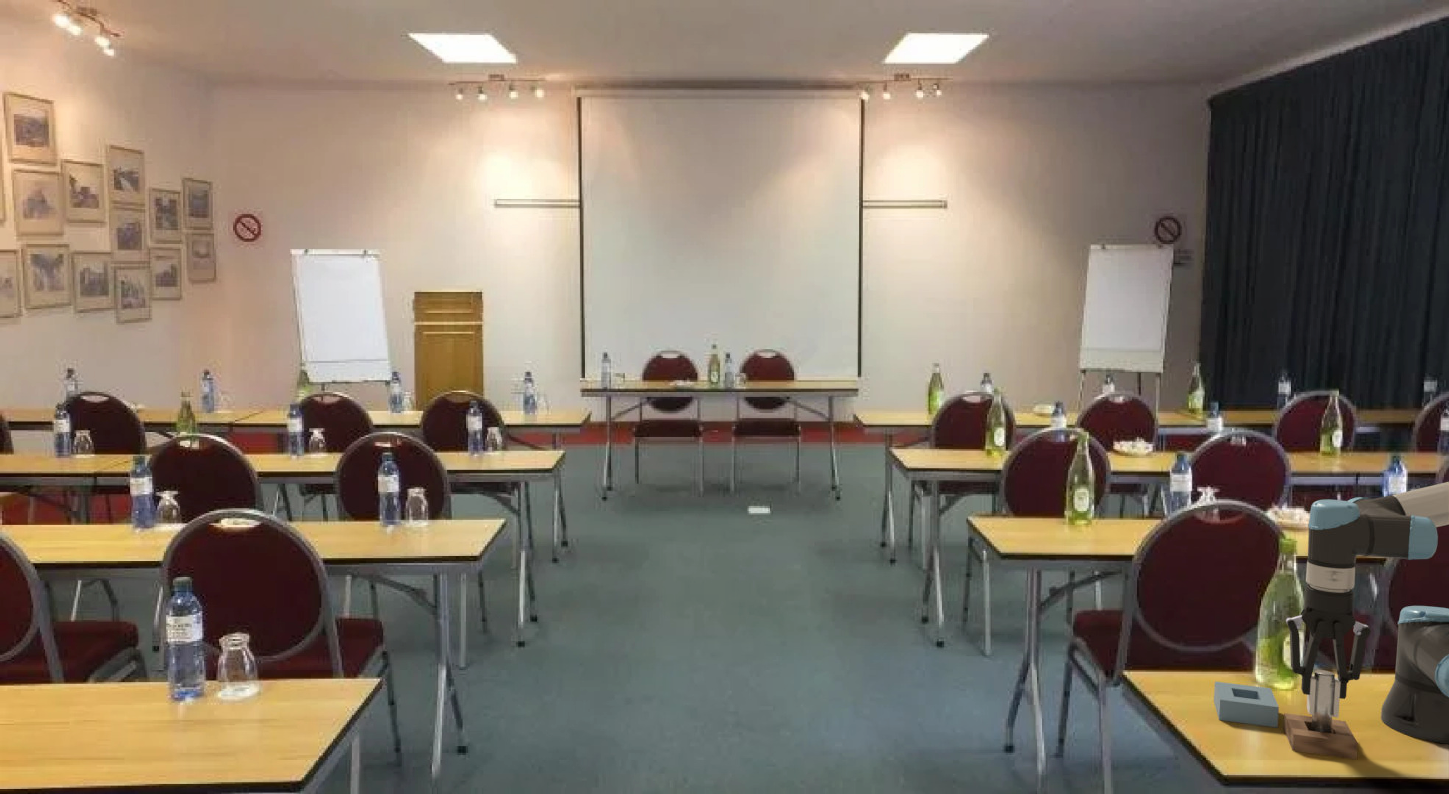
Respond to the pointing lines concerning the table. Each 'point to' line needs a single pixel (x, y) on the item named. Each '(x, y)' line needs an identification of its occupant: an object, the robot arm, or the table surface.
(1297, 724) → the block
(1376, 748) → the table surface
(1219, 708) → the docking socket
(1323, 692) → the pin
